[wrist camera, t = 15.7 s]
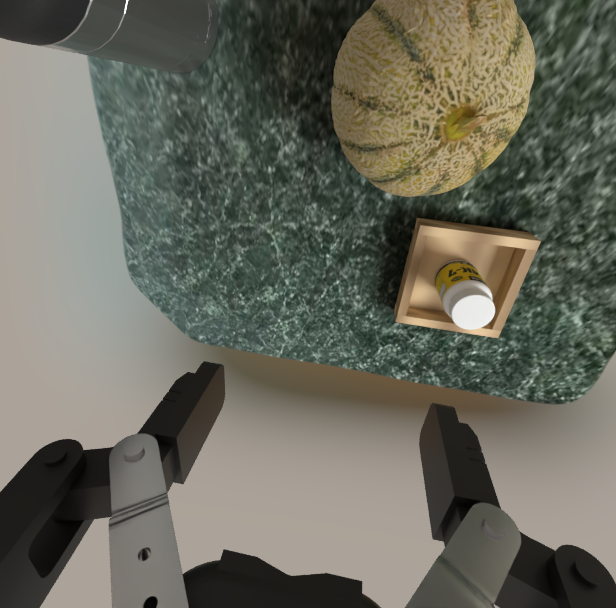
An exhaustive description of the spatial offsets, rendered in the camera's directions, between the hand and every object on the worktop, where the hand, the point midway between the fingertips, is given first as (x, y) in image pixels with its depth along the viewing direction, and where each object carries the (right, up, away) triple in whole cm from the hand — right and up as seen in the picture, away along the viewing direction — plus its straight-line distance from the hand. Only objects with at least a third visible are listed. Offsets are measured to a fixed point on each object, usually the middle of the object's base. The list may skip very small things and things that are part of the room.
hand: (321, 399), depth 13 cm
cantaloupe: (+10, +23, +20) cm, 32 cm away
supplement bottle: (+17, +7, +28) cm, 33 cm away
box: (+17, +7, +28) cm, 33 cm away
